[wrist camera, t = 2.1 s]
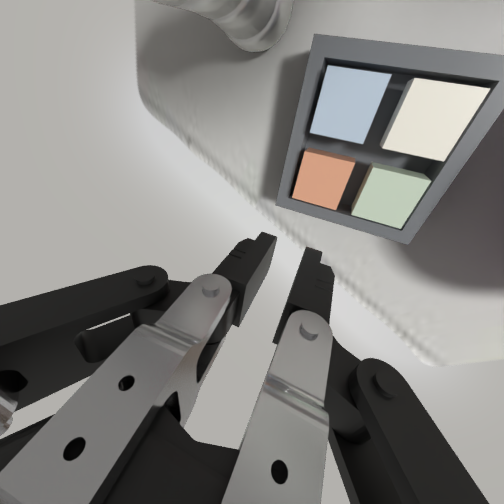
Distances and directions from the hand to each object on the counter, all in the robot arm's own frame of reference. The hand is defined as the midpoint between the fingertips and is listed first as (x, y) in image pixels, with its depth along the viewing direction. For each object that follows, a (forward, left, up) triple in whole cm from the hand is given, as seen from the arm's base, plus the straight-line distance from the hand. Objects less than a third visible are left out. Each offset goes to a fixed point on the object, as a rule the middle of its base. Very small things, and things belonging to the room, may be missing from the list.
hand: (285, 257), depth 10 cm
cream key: (-6, +6, -16) cm, 18 cm away
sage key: (0, +6, -16) cm, 17 cm away
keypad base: (-3, +3, -19) cm, 19 cm away
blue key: (-6, 0, -16) cm, 17 cm away
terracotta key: (0, 0, -16) cm, 16 cm away
